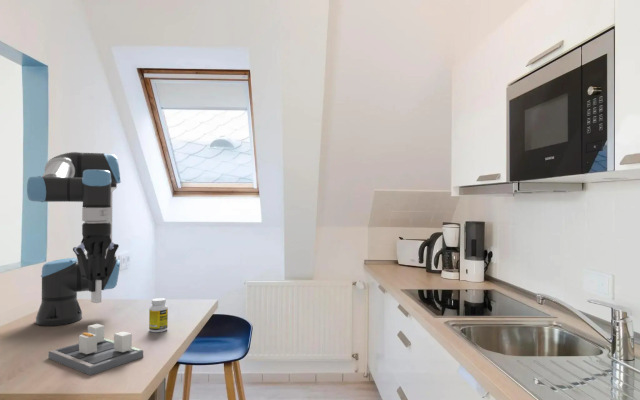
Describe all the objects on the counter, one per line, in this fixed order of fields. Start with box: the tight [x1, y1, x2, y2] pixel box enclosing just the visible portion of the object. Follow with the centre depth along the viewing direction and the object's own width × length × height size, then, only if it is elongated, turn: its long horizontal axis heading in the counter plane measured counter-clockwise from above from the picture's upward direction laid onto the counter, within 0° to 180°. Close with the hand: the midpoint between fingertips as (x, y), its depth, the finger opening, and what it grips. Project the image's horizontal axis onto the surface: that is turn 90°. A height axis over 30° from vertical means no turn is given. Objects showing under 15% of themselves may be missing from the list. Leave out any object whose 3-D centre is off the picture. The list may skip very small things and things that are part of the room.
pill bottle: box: [148, 297, 169, 333], centre depth 155 cm, size 6×6×11 cm
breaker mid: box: [78, 332, 97, 354], centre depth 126 cm, size 4×3×5 cm
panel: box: [47, 337, 144, 376], centre depth 128 cm, size 22×16×2 cm
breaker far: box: [87, 323, 105, 343], centre depth 135 cm, size 4×3×5 cm
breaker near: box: [113, 331, 133, 352], centre depth 127 cm, size 4×3×5 cm
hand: (96, 302), depth 127 cm, fingers closed
